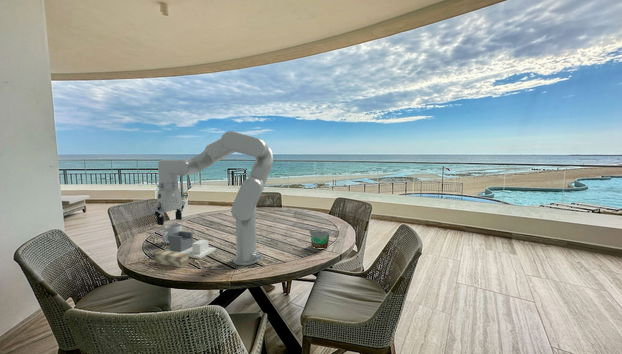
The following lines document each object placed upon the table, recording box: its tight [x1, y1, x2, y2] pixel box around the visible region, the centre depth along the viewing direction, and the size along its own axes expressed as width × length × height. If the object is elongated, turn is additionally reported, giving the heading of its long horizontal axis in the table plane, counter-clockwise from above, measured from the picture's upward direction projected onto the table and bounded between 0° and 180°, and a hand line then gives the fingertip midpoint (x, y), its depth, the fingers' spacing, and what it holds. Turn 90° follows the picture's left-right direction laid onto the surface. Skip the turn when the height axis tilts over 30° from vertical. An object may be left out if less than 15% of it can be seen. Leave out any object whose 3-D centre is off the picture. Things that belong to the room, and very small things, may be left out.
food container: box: [308, 228, 331, 249], centre depth 130 cm, size 12×6×10 cm, turn 76°
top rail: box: [154, 249, 189, 268], centre depth 111 cm, size 16×4×5 cm, turn 72°
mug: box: [161, 223, 183, 245], centre depth 137 cm, size 13×9×10 cm
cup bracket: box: [165, 230, 217, 260], centre depth 125 cm, size 24×12×9 cm, turn 72°
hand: (170, 222), depth 110 cm, fingers open, 9 cm apart
